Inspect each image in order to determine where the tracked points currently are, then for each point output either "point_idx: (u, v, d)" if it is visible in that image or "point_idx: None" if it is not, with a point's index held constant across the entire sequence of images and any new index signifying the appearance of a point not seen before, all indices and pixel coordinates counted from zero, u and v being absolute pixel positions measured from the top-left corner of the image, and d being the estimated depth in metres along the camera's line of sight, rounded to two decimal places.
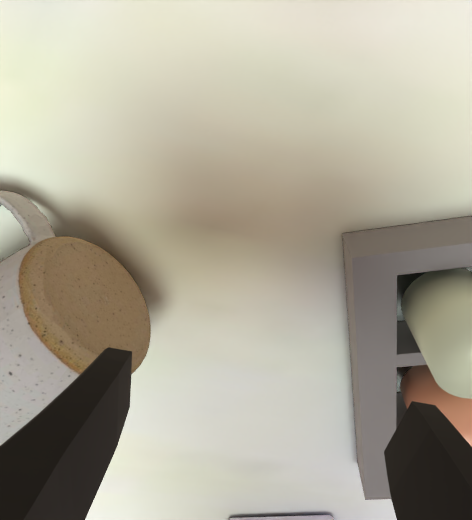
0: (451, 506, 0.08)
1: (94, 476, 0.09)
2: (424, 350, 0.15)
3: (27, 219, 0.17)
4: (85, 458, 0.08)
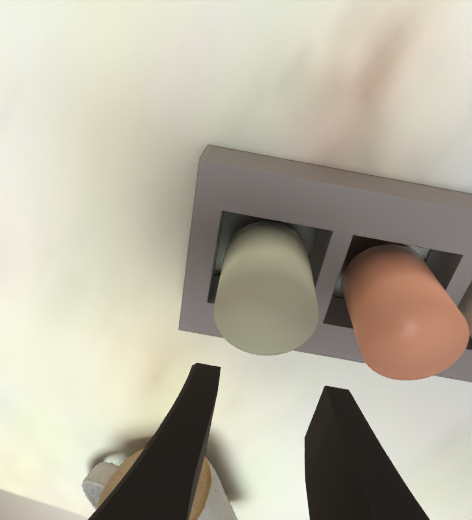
0: (342, 487, 0.08)
1: (194, 493, 0.09)
2: None
3: (98, 480, 0.25)
4: (196, 477, 0.08)
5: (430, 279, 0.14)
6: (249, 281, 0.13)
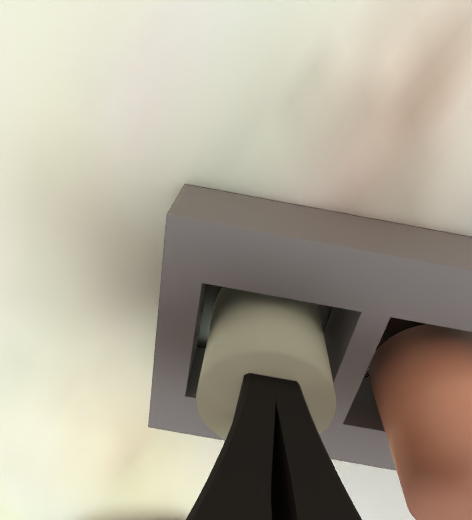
0: (277, 476, 0.08)
1: None
2: None
3: None
4: None
5: None
6: (243, 364, 0.10)
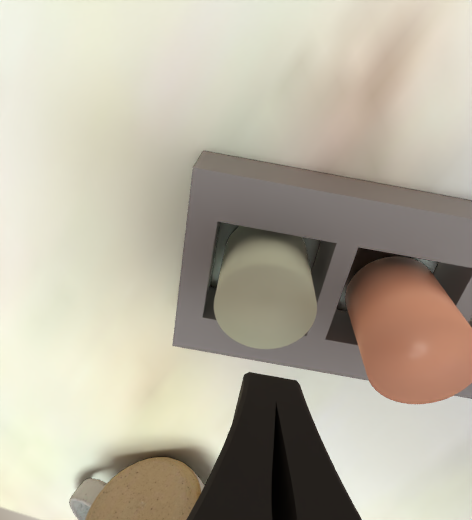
0: (277, 476, 0.08)
1: None
2: None
3: (85, 498, 0.24)
4: None
5: (441, 296, 0.13)
6: (248, 275, 0.13)
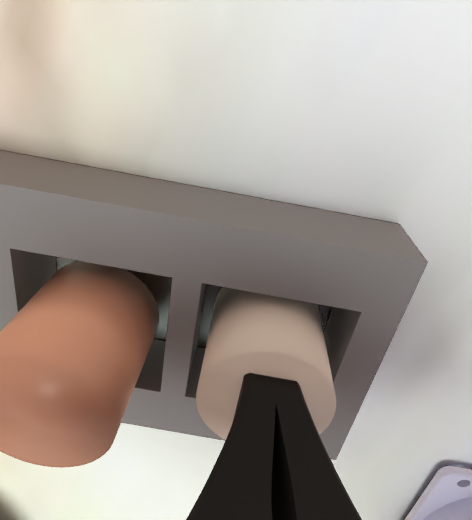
0: (277, 476, 0.08)
1: None
2: None
3: None
4: None
5: (80, 317, 0.09)
6: None
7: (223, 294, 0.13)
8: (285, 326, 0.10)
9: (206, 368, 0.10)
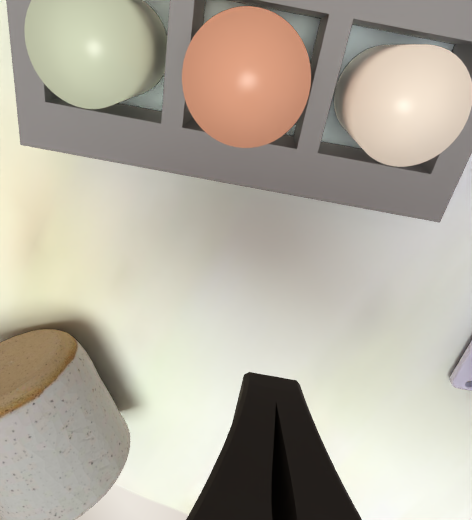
0: (277, 476, 0.08)
1: None
2: None
3: None
4: None
5: None
6: None
7: (351, 64, 0.15)
8: None
9: (365, 75, 0.12)
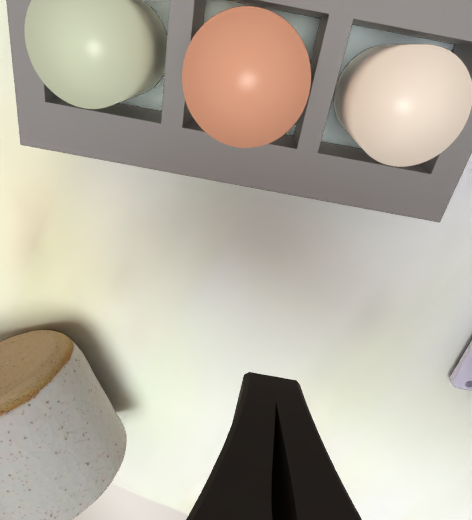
0: (277, 476, 0.08)
1: None
2: None
3: None
4: None
5: None
6: None
7: (351, 64, 0.15)
8: None
9: (365, 75, 0.12)
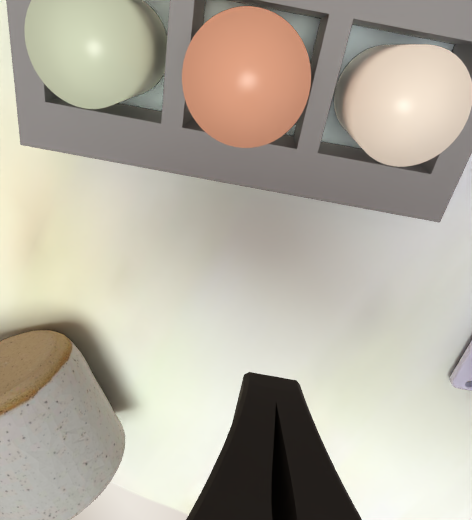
0: (277, 476, 0.08)
1: None
2: None
3: None
4: None
5: None
6: None
7: (351, 64, 0.15)
8: None
9: (365, 75, 0.12)
